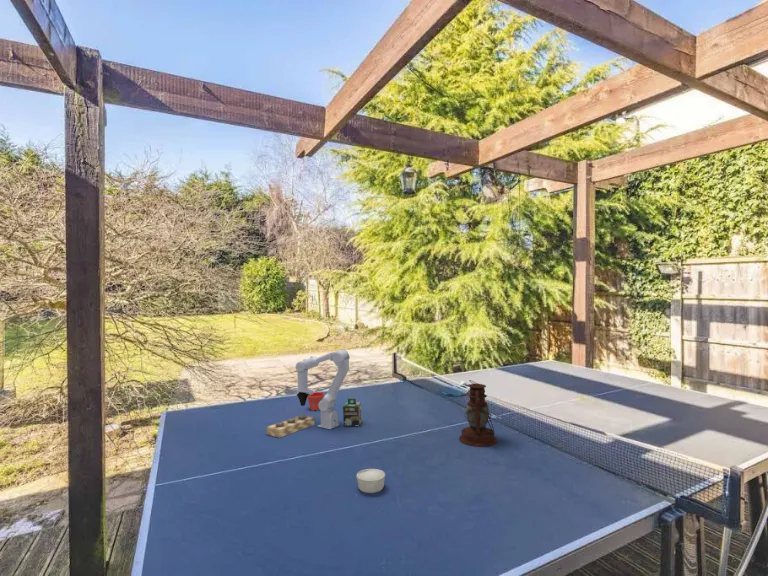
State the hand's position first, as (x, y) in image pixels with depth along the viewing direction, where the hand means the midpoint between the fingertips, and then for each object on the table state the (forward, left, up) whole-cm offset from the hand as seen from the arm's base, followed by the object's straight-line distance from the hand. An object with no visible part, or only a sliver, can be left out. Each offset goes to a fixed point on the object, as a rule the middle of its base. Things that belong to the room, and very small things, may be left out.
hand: (303, 405), depth 246 cm
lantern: (-95, -28, -11) cm, 100 cm away
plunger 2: (-2, +11, -10) cm, 15 cm away
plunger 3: (-2, +3, -10) cm, 11 cm away
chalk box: (-25, -15, -11) cm, 31 cm away
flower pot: (+15, -26, -11) cm, 32 cm away
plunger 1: (-2, +19, -10) cm, 22 cm away
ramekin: (-81, +43, -11) cm, 92 cm away
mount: (-2, +11, -10) cm, 15 cm away
